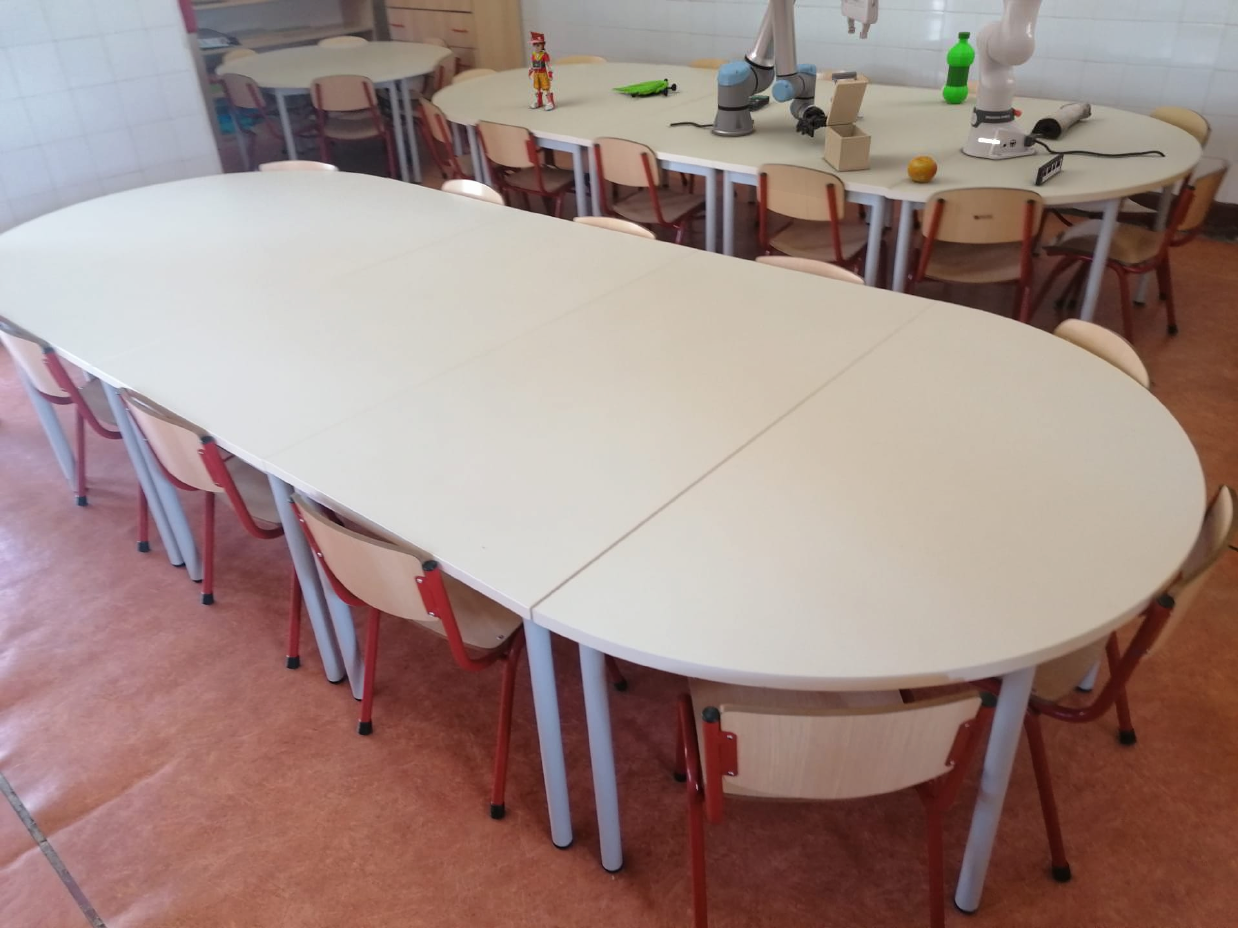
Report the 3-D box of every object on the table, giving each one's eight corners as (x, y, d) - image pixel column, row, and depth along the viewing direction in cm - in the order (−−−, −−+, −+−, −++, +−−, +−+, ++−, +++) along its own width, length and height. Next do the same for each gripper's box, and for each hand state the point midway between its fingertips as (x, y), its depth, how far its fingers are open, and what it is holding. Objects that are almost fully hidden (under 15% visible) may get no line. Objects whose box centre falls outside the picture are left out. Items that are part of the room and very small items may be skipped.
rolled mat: (1058, 107, 328) (1083, 90, 320) (1071, 128, 329) (1097, 111, 320) (1025, 130, 311) (1051, 112, 303) (1040, 152, 311) (1065, 134, 303)
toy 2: (686, 85, 398) (631, 84, 414) (685, 72, 395) (629, 72, 411) (651, 104, 381) (596, 103, 397) (650, 92, 378) (594, 91, 394)
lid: (867, 82, 283) (860, 64, 288) (837, 85, 283) (830, 66, 287) (855, 123, 297) (848, 105, 301) (827, 125, 297) (820, 107, 301)
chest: (867, 169, 291) (871, 136, 285) (838, 171, 291) (841, 138, 285) (851, 155, 304) (854, 124, 298) (823, 158, 303) (826, 126, 297)
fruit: (901, 172, 275) (918, 148, 272) (903, 174, 283) (919, 151, 280) (924, 187, 274) (941, 164, 271) (925, 189, 282) (942, 166, 279)
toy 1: (525, 109, 381) (517, 32, 364) (534, 104, 388) (527, 28, 371) (550, 110, 377) (543, 32, 360) (559, 105, 384) (553, 28, 367)
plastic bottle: (973, 101, 354) (984, 32, 339) (955, 106, 349) (966, 36, 335) (952, 97, 361) (962, 29, 346) (934, 102, 356) (944, 33, 342)
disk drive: (754, 111, 359) (769, 102, 369) (754, 104, 357) (770, 95, 367) (731, 109, 364) (746, 100, 374) (731, 102, 362) (747, 93, 372)
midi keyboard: (1039, 185, 269) (1043, 168, 266) (1035, 184, 270) (1038, 168, 267) (1060, 170, 279) (1064, 154, 277) (1056, 169, 280) (1060, 153, 277)
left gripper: (844, 124, 325) (866, 139, 308) (777, 130, 323) (796, 146, 305) (846, 102, 321) (868, 117, 303) (778, 109, 318) (797, 123, 301)
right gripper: (886, -11, 259) (880, 41, 267) (858, -19, 276) (854, 30, 284) (865, -10, 259) (860, 42, 267) (839, -18, 275) (835, 31, 283)
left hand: (832, 132), depth 304 cm, fingers open, 13 cm apart
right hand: (857, 36), depth 275 cm, fingers open, 8 cm apart
